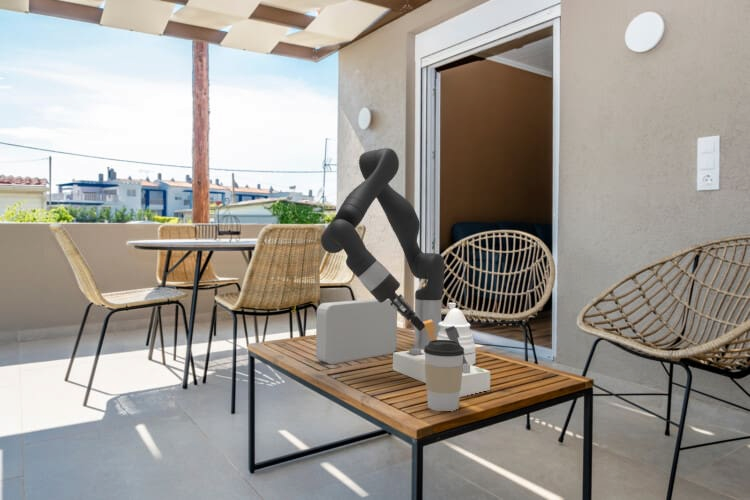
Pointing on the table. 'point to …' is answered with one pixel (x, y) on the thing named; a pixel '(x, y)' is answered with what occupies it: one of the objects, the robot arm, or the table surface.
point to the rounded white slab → (355, 330)
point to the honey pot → (459, 332)
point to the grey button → (414, 351)
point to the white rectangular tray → (415, 368)
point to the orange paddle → (430, 329)
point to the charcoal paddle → (454, 337)
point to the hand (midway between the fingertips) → (422, 328)
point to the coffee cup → (443, 374)
